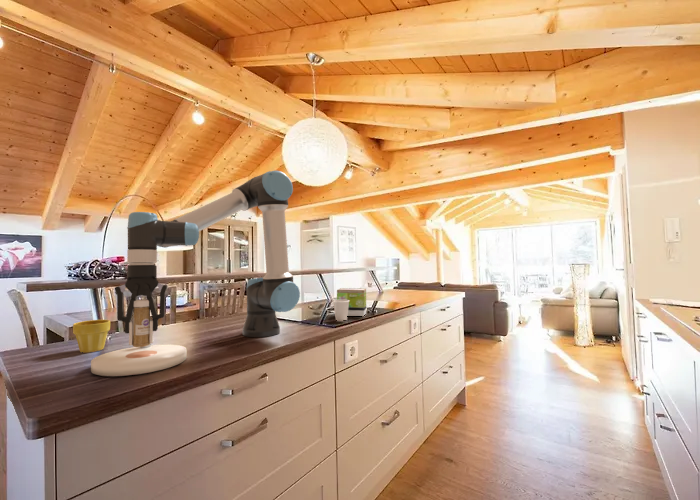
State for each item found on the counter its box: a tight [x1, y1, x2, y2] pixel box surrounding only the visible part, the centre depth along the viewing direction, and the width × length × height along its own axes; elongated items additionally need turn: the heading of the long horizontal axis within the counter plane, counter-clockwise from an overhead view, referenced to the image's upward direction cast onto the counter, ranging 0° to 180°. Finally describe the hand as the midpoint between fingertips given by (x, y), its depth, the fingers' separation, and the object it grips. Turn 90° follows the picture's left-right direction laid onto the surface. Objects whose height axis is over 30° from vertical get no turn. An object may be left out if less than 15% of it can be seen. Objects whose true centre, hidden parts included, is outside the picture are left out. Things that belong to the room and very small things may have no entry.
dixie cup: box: [332, 299, 349, 322], centre depth 173 cm, size 8×8×10 cm
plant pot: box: [72, 319, 111, 354], centre depth 120 cm, size 10×10×10 cm
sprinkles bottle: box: [132, 298, 151, 347], centre depth 102 cm, size 5×5×13 cm
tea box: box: [336, 287, 367, 317], centre depth 188 cm, size 15×10×15 cm
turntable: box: [90, 343, 188, 377], centre depth 102 cm, size 24×24×7 cm
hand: (141, 343), depth 102 cm, fingers closed on sprinkles bottle, 4 cm apart
